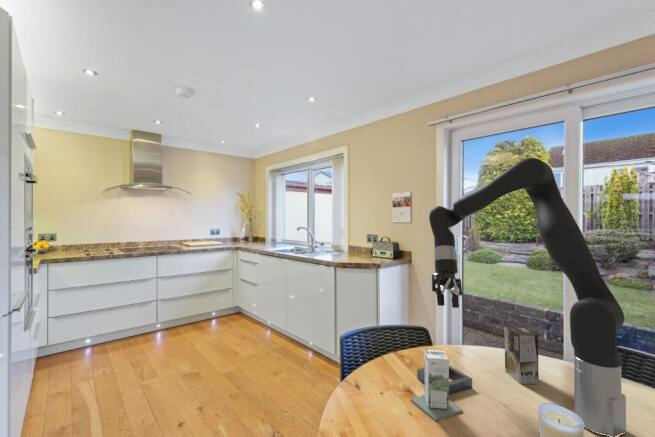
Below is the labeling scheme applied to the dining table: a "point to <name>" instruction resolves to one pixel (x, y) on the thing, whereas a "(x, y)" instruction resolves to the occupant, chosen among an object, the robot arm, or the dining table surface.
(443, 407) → the syrup box
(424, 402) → the slate coaster
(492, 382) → the dining table surface
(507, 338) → the coffee box
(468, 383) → the socket block
